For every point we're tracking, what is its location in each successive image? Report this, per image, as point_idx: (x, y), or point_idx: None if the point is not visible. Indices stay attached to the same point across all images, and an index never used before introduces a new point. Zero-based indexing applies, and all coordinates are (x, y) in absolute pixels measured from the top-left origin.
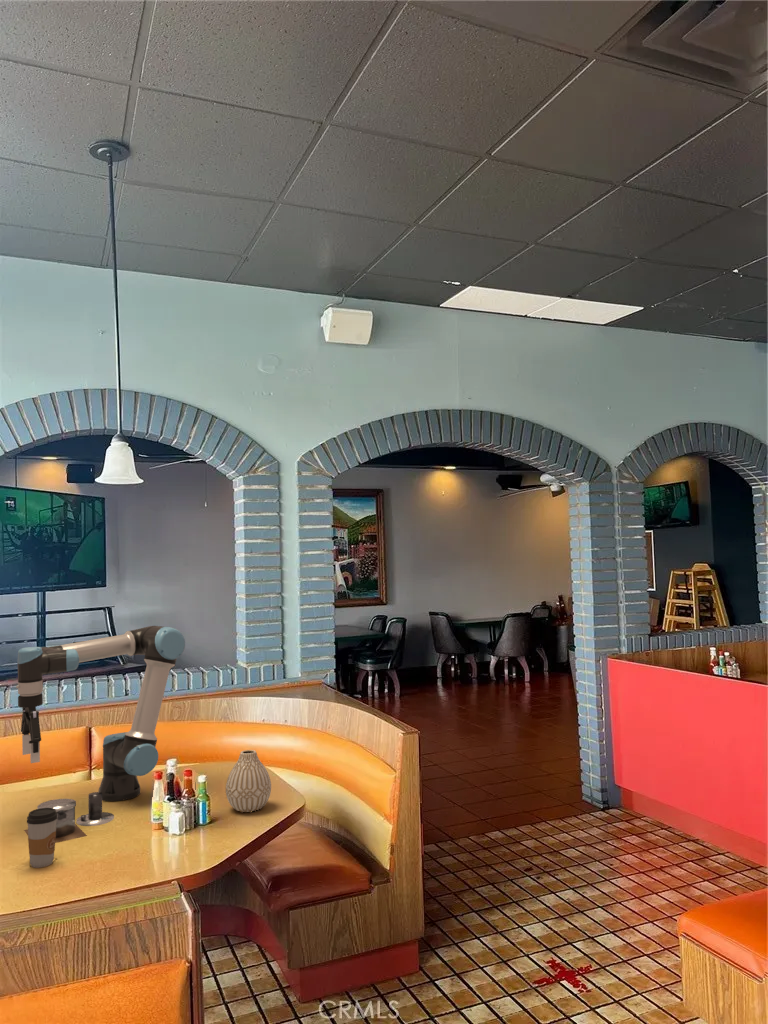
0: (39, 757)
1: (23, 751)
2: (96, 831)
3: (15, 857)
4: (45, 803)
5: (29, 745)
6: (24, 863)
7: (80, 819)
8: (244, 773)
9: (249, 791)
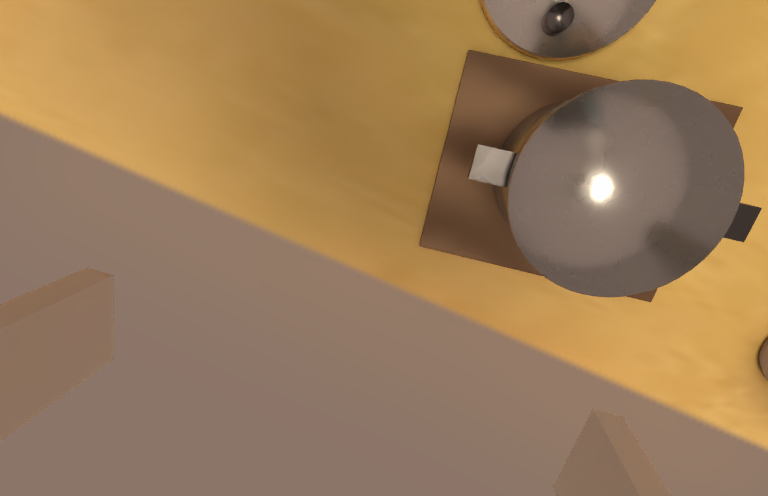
0: (650, 468)
1: (80, 378)
2: (694, 28)
3: (644, 372)
4: (543, 231)
5: (5, 353)
6: (730, 382)
7: (526, 24)
8: None
9: None
